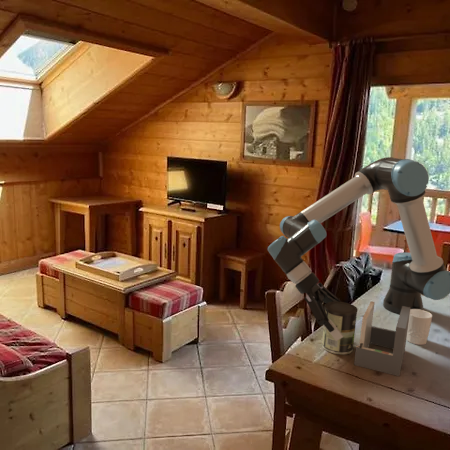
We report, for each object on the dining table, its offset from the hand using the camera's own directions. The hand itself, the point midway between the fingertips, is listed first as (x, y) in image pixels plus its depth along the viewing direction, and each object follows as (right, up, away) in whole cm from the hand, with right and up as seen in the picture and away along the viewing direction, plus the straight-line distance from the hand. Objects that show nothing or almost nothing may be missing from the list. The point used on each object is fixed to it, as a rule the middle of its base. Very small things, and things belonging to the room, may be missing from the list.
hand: (344, 330), depth 148 cm
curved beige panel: (+5, -6, -3) cm, 9 cm away
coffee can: (-2, -6, +2) cm, 7 cm away
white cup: (+27, -6, +9) cm, 29 cm away
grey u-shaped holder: (+10, -8, -3) cm, 13 cm away
